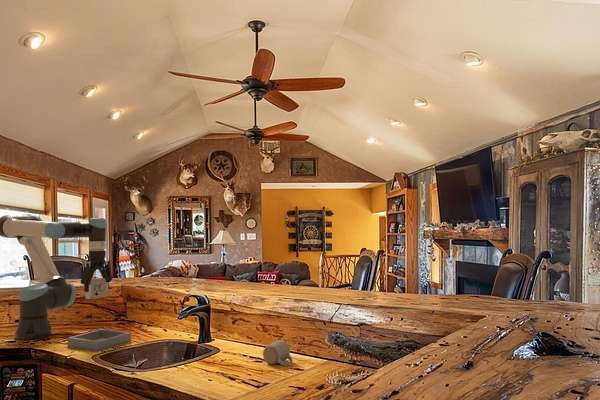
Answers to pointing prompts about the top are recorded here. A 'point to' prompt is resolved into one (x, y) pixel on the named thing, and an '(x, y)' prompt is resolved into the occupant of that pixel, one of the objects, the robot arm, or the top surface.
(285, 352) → the ceramic mug
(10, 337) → the top surface
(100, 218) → the robot arm
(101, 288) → the electrical switch
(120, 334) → the parts tray
